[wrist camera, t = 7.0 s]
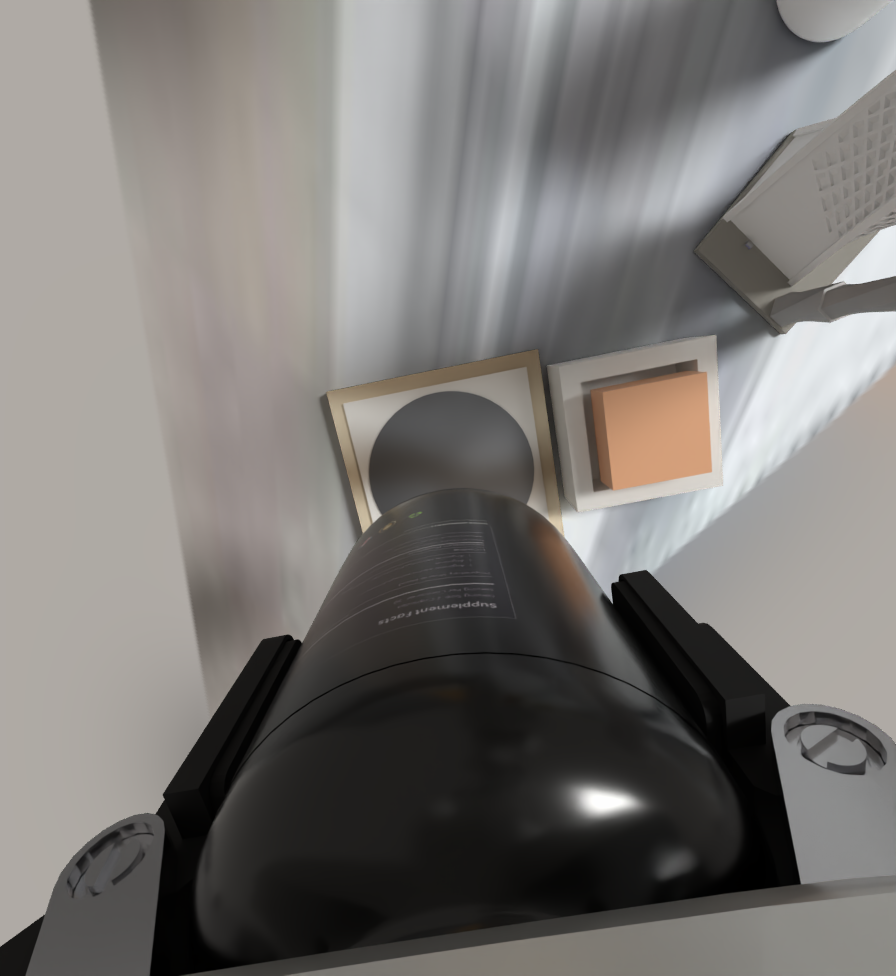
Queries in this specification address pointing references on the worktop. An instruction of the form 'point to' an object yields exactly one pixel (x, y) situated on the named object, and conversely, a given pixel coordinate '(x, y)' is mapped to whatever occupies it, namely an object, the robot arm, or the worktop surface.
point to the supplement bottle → (464, 756)
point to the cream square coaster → (449, 435)
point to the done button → (652, 429)
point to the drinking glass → (827, 17)
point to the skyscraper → (814, 218)
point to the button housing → (577, 420)
